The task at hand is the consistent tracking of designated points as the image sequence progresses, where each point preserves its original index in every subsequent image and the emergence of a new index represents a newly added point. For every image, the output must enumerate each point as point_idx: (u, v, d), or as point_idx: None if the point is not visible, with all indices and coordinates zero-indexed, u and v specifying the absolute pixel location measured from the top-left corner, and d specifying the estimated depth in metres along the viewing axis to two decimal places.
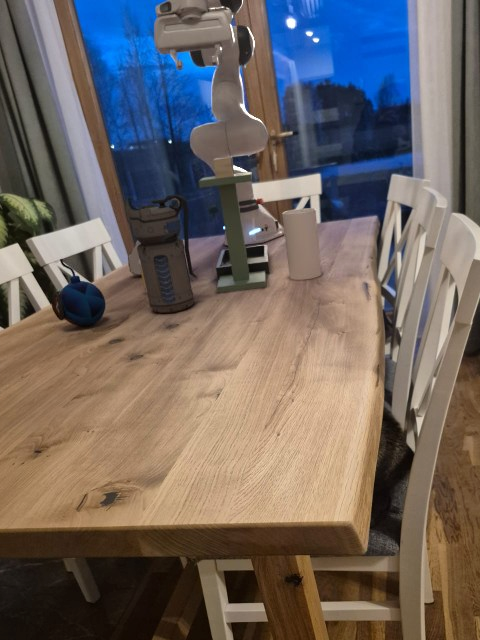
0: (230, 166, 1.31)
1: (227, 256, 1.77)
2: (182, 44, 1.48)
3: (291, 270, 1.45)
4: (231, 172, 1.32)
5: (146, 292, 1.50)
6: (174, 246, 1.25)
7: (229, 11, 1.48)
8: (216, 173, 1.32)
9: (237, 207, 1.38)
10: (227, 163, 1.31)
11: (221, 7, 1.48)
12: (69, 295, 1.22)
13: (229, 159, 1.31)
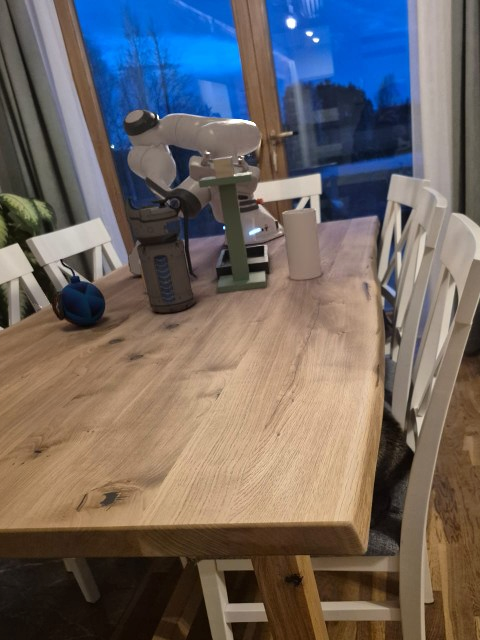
0: (230, 166, 1.31)
1: (227, 256, 1.77)
2: None
3: (291, 270, 1.45)
4: (231, 172, 1.32)
5: (146, 292, 1.50)
6: (174, 246, 1.25)
7: (191, 177, 1.71)
8: (216, 173, 1.32)
9: (237, 207, 1.38)
10: (227, 163, 1.31)
11: None
12: (69, 295, 1.22)
13: (229, 159, 1.31)
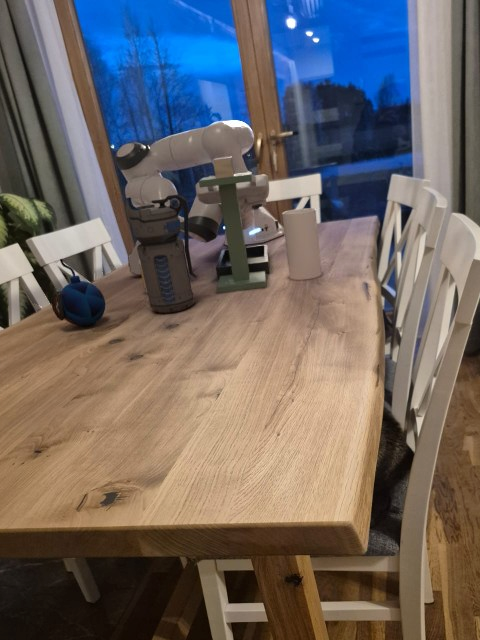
0: (230, 166, 1.31)
1: (227, 256, 1.77)
2: (243, 189, 1.58)
3: (291, 270, 1.45)
4: (231, 172, 1.32)
5: (146, 292, 1.50)
6: (174, 246, 1.25)
7: (201, 201, 1.66)
8: (216, 173, 1.32)
9: (237, 207, 1.38)
10: (227, 163, 1.31)
11: None
12: (69, 295, 1.22)
13: (229, 159, 1.31)
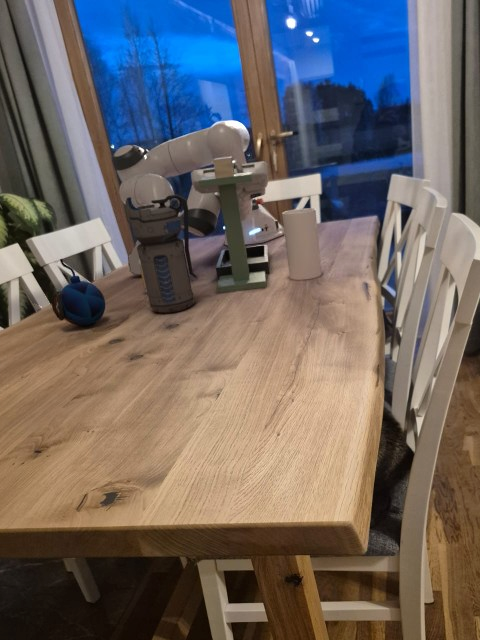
0: (230, 166, 1.31)
1: (227, 256, 1.77)
2: None
3: (291, 270, 1.45)
4: (231, 172, 1.32)
5: (146, 292, 1.50)
6: (174, 246, 1.25)
7: (197, 190, 1.58)
8: (216, 173, 1.32)
9: (237, 207, 1.38)
10: (227, 163, 1.31)
11: None
12: (69, 295, 1.22)
13: (229, 159, 1.31)
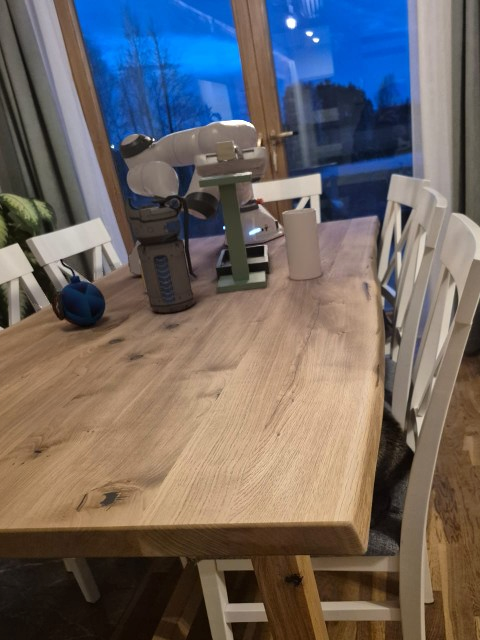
0: (232, 149, 1.40)
1: (227, 256, 1.77)
2: (241, 161, 1.59)
3: (291, 270, 1.45)
4: (233, 155, 1.40)
5: (146, 292, 1.50)
6: (174, 246, 1.25)
7: (199, 175, 1.66)
8: (219, 156, 1.40)
9: (237, 207, 1.38)
10: (229, 146, 1.39)
11: None
12: (69, 295, 1.22)
13: (231, 142, 1.39)
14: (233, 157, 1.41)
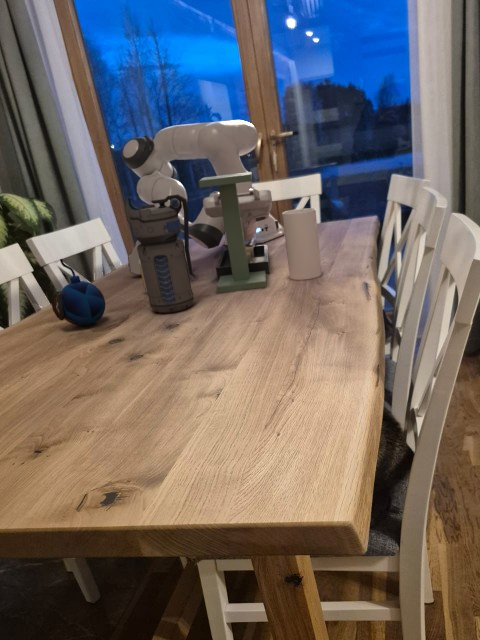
0: (249, 261, 1.58)
1: (227, 256, 1.77)
2: (248, 203, 1.69)
3: (291, 270, 1.45)
4: None
5: (146, 292, 1.50)
6: (174, 246, 1.25)
7: None
8: None
9: (237, 207, 1.38)
10: (247, 259, 1.58)
11: None
12: (69, 295, 1.22)
13: (248, 256, 1.58)
14: None
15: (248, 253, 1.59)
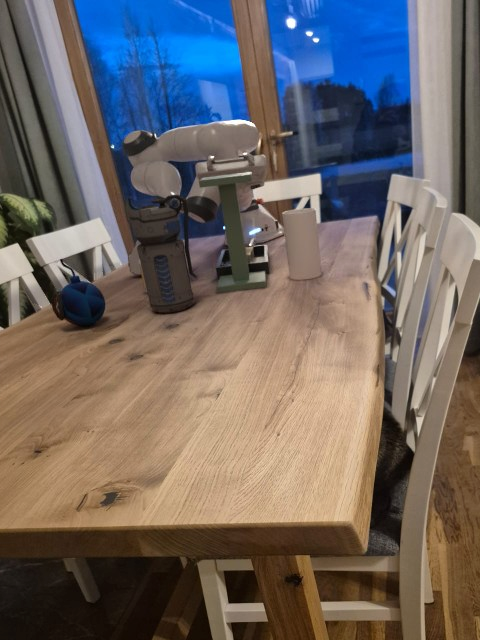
0: (249, 261, 1.58)
1: (227, 256, 1.77)
2: (242, 169, 1.62)
3: (291, 270, 1.45)
4: None
5: (146, 292, 1.50)
6: (174, 246, 1.25)
7: None
8: None
9: (237, 207, 1.38)
10: (247, 259, 1.58)
11: None
12: (69, 295, 1.22)
13: (248, 256, 1.58)
14: None
15: (248, 253, 1.59)
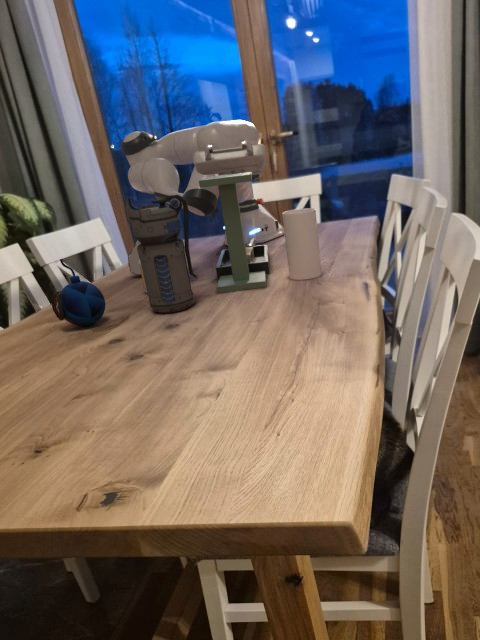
0: (249, 261, 1.58)
1: (227, 256, 1.77)
2: (240, 158, 1.60)
3: (291, 270, 1.45)
4: None
5: (146, 292, 1.50)
6: (174, 246, 1.25)
7: (198, 172, 1.67)
8: None
9: (237, 207, 1.38)
10: (247, 259, 1.58)
11: None
12: (69, 295, 1.22)
13: (248, 256, 1.58)
14: None
15: (248, 253, 1.59)
